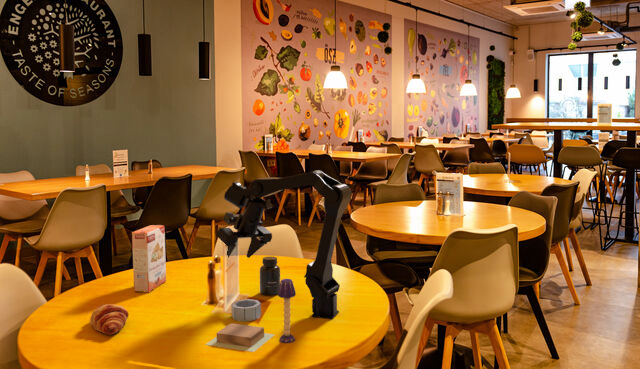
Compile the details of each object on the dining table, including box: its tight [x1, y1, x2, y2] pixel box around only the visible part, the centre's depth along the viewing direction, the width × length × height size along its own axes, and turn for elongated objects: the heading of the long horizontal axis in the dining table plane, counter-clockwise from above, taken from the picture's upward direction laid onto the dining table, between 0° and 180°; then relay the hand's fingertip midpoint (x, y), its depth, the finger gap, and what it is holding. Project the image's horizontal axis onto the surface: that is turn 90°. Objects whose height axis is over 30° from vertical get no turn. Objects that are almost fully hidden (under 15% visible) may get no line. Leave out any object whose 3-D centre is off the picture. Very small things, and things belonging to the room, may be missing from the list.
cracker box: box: [131, 224, 167, 293], centre depth 196 cm, size 14×6×21 cm, turn 171°
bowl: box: [230, 298, 262, 322], centre depth 165 cm, size 8×8×4 cm
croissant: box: [89, 303, 130, 335], centre depth 160 cm, size 21×10×8 cm, turn 27°
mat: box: [204, 332, 276, 353], centre depth 148 cm, size 14×12×1 cm
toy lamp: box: [277, 278, 297, 344], centre depth 146 cm, size 5×5×17 cm
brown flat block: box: [216, 323, 265, 347], centre depth 147 cm, size 10×7×2 cm
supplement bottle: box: [259, 256, 281, 297], centre depth 188 cm, size 7×7×12 cm
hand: (236, 258), depth 179 cm, fingers open, 9 cm apart
